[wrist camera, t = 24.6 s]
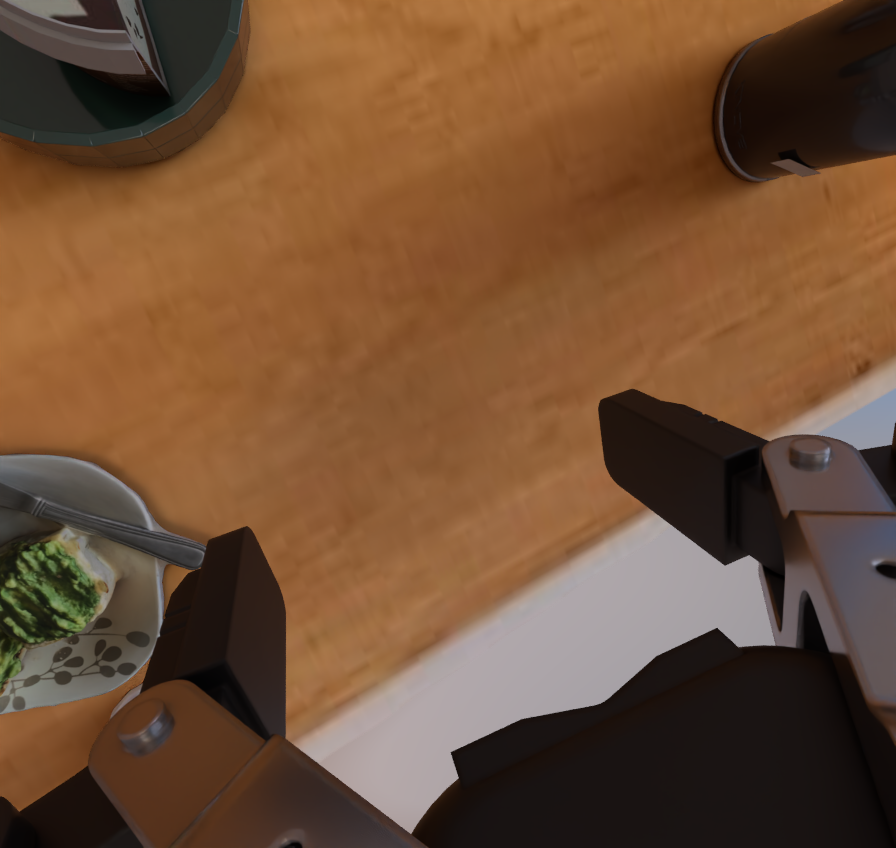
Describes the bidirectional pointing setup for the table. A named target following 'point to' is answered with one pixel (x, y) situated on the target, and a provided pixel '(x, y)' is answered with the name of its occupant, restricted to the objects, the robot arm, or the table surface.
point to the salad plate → (77, 580)
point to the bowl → (123, 113)
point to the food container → (91, 39)
